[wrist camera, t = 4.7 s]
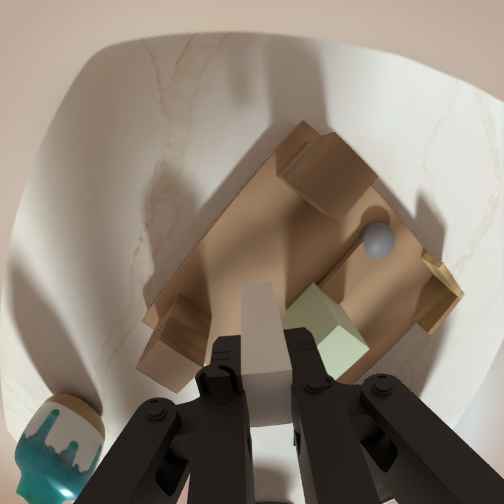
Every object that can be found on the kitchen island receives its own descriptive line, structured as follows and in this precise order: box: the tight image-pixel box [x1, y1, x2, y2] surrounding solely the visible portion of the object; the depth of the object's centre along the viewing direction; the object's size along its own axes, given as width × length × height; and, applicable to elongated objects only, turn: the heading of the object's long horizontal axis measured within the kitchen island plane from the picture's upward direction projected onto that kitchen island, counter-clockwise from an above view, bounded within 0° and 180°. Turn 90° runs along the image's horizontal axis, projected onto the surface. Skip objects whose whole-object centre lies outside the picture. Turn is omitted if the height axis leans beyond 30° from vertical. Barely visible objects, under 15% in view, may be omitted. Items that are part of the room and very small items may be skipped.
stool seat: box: [136, 121, 464, 426], centre depth 22 cm, size 22×22×9 cm
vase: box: [15, 394, 105, 504], centre depth 21 cm, size 11×11×19 cm
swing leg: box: [286, 222, 395, 380], centre depth 20 cm, size 4×11×7 cm, turn 140°
